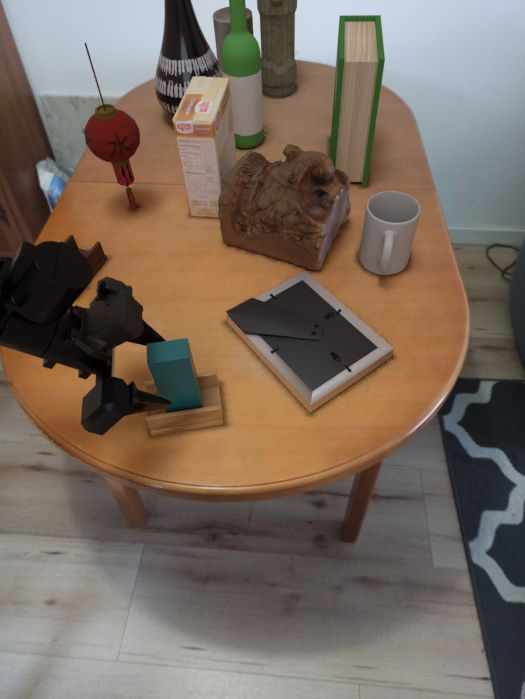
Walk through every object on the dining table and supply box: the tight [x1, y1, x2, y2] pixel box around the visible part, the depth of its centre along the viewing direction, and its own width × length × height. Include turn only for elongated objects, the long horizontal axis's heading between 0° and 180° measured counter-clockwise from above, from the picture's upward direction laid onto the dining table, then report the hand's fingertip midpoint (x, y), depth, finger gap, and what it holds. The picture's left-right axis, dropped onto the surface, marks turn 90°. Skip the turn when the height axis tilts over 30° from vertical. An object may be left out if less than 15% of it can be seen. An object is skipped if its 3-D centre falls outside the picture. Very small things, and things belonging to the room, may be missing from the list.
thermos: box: [256, 0, 298, 99], centre depth 112 cm, size 9×12×35 cm
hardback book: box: [329, 14, 386, 188], centre depth 97 cm, size 18×7×24 cm, turn 174°
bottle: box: [221, 0, 265, 149], centre depth 101 cm, size 8×8×30 cm
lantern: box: [84, 42, 141, 211], centre depth 88 cm, size 10×10×30 cm
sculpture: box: [218, 143, 352, 271], centre depth 89 cm, size 19×18×20 cm
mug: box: [358, 190, 421, 276], centre depth 83 cm, size 12×8×11 cm
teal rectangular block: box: [146, 337, 203, 413], centre depth 66 cm, size 5×3×13 cm, turn 99°
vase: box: [154, 0, 223, 119], centre depth 108 cm, size 16×16×30 cm
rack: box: [63, 234, 108, 278], centre depth 88 cm, size 10×7×4 cm, turn 159°
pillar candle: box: [211, 6, 254, 71], centre depth 126 cm, size 10×10×15 cm
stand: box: [144, 370, 225, 436], centre depth 70 cm, size 10×7×4 cm, turn 99°
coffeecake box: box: [171, 76, 238, 219], centre depth 94 cm, size 15×7×20 cm, turn 171°
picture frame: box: [225, 270, 395, 414], centre depth 77 cm, size 16×3×21 cm
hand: (168, 374), depth 64 cm, fingers open, 9 cm apart
